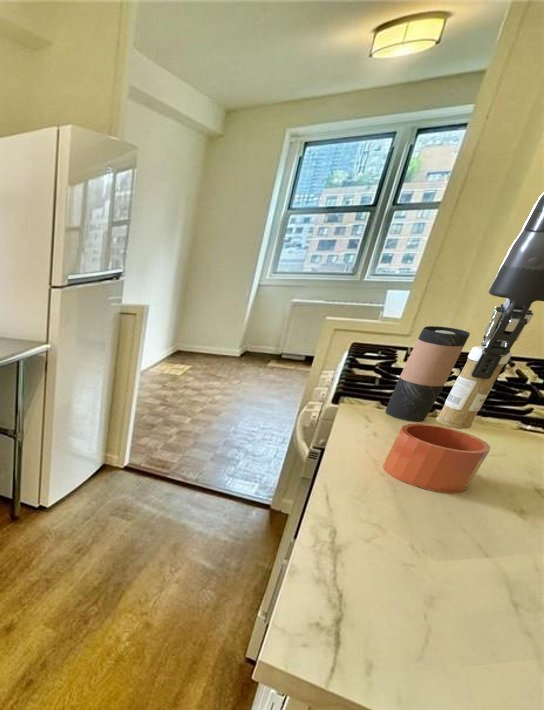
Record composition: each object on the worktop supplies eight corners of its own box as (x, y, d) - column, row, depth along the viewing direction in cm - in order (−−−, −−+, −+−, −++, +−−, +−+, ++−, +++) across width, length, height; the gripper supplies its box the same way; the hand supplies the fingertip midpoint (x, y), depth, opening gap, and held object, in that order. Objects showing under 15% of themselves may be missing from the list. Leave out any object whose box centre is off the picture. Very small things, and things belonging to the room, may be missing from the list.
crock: (421, 458, 95) (440, 422, 91) (485, 490, 85) (510, 451, 81) (367, 462, 94) (384, 425, 90) (425, 494, 84) (447, 454, 80)
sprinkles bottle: (475, 431, 82) (519, 354, 75) (441, 427, 83) (481, 351, 77) (462, 421, 85) (503, 346, 79) (429, 417, 87) (467, 343, 80)
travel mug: (435, 422, 110) (481, 334, 100) (402, 422, 110) (445, 335, 100) (406, 408, 116) (447, 325, 107) (375, 408, 116) (413, 326, 107)
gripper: (584, 272, 65) (514, 391, 73) (571, 261, 74) (510, 368, 82) (504, 267, 70) (447, 379, 78) (501, 258, 79) (450, 359, 87)
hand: (479, 373), depth 80 cm, fingers closed on sprinkles bottle, 4 cm apart
